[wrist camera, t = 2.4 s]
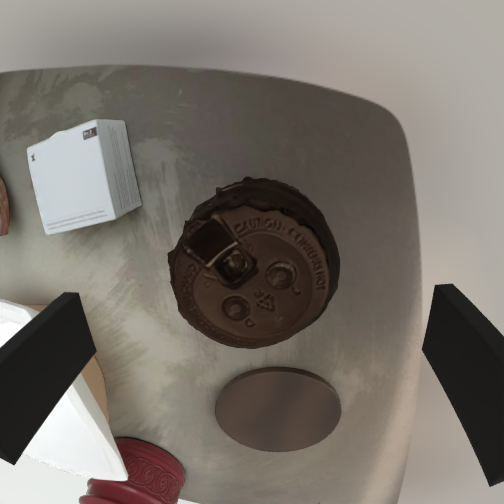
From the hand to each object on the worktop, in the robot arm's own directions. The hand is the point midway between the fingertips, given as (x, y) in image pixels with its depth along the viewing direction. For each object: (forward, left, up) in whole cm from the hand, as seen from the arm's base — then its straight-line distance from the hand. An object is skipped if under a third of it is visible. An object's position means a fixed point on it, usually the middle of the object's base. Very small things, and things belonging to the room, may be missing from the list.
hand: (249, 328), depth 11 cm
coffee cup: (0, 0, -17) cm, 17 cm away
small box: (+15, -5, -16) cm, 23 cm away
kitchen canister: (+20, +36, -16) cm, 44 cm away
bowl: (+27, +15, -16) cm, 35 cm away
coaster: (0, +22, -16) cm, 27 cm away
